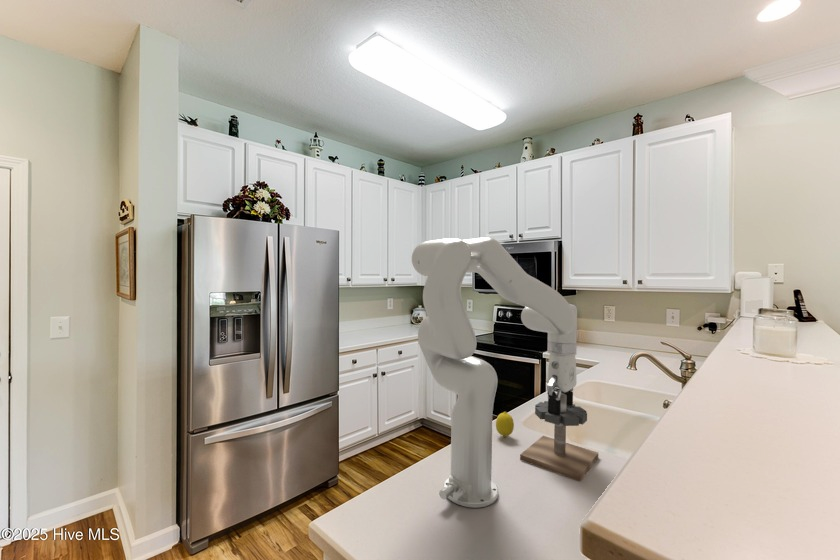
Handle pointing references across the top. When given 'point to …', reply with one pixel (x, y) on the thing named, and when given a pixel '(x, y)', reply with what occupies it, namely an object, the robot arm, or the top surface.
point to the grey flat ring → (562, 415)
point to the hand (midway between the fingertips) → (560, 408)
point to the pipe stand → (560, 453)
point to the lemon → (504, 424)
